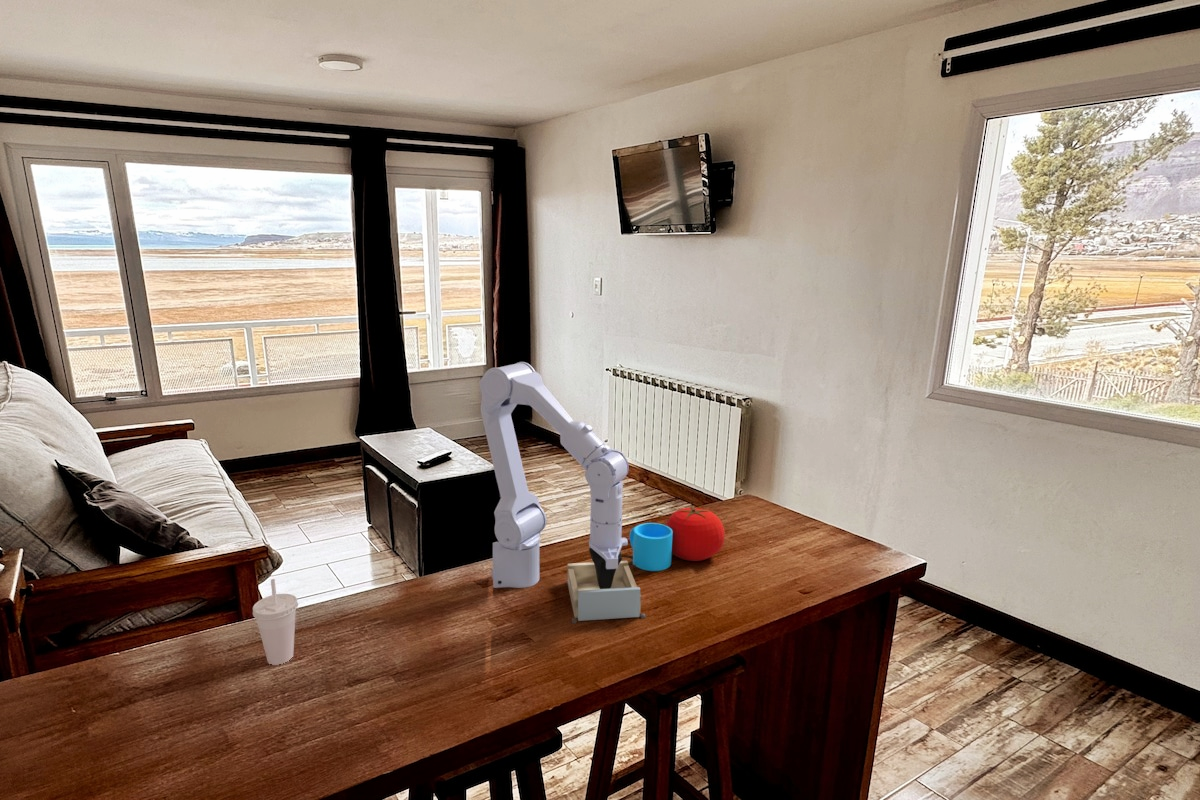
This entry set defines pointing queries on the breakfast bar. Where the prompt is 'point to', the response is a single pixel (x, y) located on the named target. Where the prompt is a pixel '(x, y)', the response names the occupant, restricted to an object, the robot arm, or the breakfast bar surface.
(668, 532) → the mug
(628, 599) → the panel
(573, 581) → the box
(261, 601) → the smoothie
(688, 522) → the tomato
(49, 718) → the breakfast bar surface
